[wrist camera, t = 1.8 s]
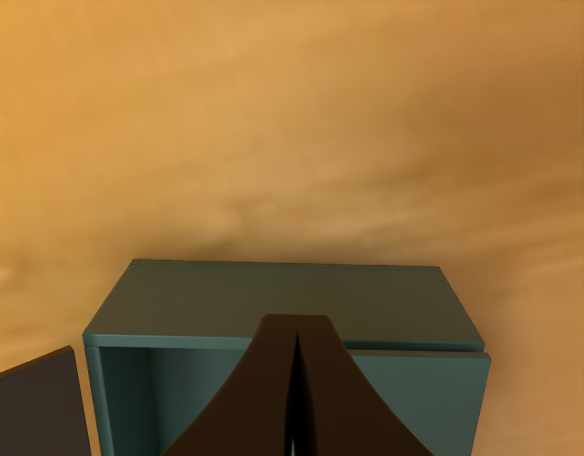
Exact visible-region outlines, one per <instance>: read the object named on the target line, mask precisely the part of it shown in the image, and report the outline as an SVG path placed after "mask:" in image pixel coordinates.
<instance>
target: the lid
mask: <svg viewBox="0 0 584 456" xmlns="http://www.w3.org/2000/svg"><path fill="white" fill-rule="evenodd" d="M0 456H92V455H91V449H90V443H89V437H88V431H87V426H86V420H85V414H84V408H83V402H82V396H81V390H80V384H79V378H78V372H77V366H76V360H75V355H74V350H73V348H72V347H71V346H70V345H68V346H66V347H63V348H61V349H58V350H56V351H53V352H51V353H48V354H46V355H43V356H41V357H38V358H36V359H33V360H31V361H28V362H26V363H23V364H21V365H18V366H16V367H13V368H11V369H8V370H6V371H3V372H1V373H0Z"/></svg>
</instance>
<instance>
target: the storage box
mask: <svg viewBox="0 0 584 456" xmlns="http://www.w3.org/2000/svg"><path fill="white" fill-rule="evenodd" d="M266 314H298V315H326V316H327V317H328V318H329V319H330V320H331V321H332V324H333V326H334V328H335V330H336V332H337V333H338V335H339V337H340V339H341V340H342V342H343V344H344V345H345V347H346V349H347V350H348V352H349V353H350V355H351V357H352V358H353V360H354V361H355V363H356V364H357V365H358V367H359V368H360V370H361V371H362V372H363V374H364V375H365V377H366V378H367V380H368V381H369V382H370V384H371V385H372V386H373V388H374V389H375V390H376V392H377V393H378V394H379V395H380V397H381V398H382V399H383V400H384V402H385V403H386V404H387V405H388V406H389V408H390V409H391V410H392V411H393V412H394V414H395V415H396V416H397V417H398V418H399V419H400V420H401V422H402V423H403V424H404V425H405V426H406V427H407V428H408V429H409V430H410V431H411V432H412V433H413V435H414V436H415V437H416V438H417V439H418V440H419V441H420V442H421V443H422V444H423V445H424V446H425V447H426V448H427V449H428V450H429V451H430V452H431V453H432V454H433V455H434V456H471V451H472V446H473V442H474V437H475V432H476V428H477V423H478V418H479V414H480V409H481V404H482V400H483V395H484V390H485V386H486V381H487V376H488V372H489V367H490V362H491V358H490V356H489V354H488V353H483V351H484V346H485V343H484V341H483V339H482V337H481V336H480V334H479V332H478V331H477V329H476V327H475V326H474V324H473V322H472V321H471V319H470V317H469V316H468V314H467V312H466V311H465V309H464V307H463V306H462V304H461V302H460V301H459V299H458V297H457V296H456V294H455V292H454V291H453V289H452V287H451V286H450V284H449V282H448V281H447V279H446V277H445V276H444V274H443V273H442V271H441V269H440V267H418V266H377V265H336V264H295V263H254V262H213V261H172V260H132V262H131V263H130V265H129V266H128V268H127V269H126V271H125V272H124V274H123V275H122V276H121V278H120V279H119V281H118V282H117V284H116V285H115V287H114V288H113V290H112V291H111V293H110V294H109V295H108V297H107V298H106V300H105V301H104V303H103V304H102V306H101V307H100V309H99V310H98V311H97V313H96V314H95V316H94V317H93V319H92V320H91V322H90V323H89V325H88V326H87V328H86V329H85V330H84V332H83V334H82V336H83V343H84V346H85V347H84V349H85V355H86V361H87V368H88V374H89V380H90V387H91V393H92V399H93V405H94V412H95V418H96V424H97V431H98V437H99V443H100V449H101V456H159V455H160V454H161V453H162V452H163V451H164V450H165V449H166V448H168V447H169V446H170V445H171V444H172V443H173V442H174V441H175V440H176V439H177V438H178V437H179V436H180V435H181V433H182V432H183V431H184V430H185V429H186V428H187V427H188V426H189V425H190V424H191V423H192V422H193V421H194V419H195V418H196V417H197V416H198V415H199V414H200V413H201V411H202V410H203V409H204V408H205V407H206V405H207V404H208V403H209V402H210V401H211V399H212V398H213V397H214V395H215V394H216V393H217V391H218V390H219V389H220V387H221V386H222V385H223V384H224V382H225V381H226V380H227V378H228V377H229V376H230V374H231V373H232V371H233V370H234V368H235V367H236V365H237V364H238V362H239V360H240V359H241V357H242V356H243V354H244V353H245V351H246V350H247V348H248V346H249V344H250V343H251V341H252V339H253V337H254V335H255V333H256V331H257V329H258V327H259V325H260V322H261V319H262V318H263V317H264V316H265V315H266ZM291 456H295V455H294V444H293V445H292V454H291Z"/></svg>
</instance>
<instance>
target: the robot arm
mask: <svg viewBox="0 0 584 456" xmlns="http://www.w3.org/2000/svg"><path fill="white" fill-rule="evenodd" d="M293 444H294V455H295V456H434V455H433V454H432V453H431V452H430V451H429V450H428V449H427V448H426V447H425V446H424V445H423V444H422V443H421V442H420V441H419V440H418V439H417V438H416V437H415V436H414V435H413V433H412V432H411V431H410V430H409V429H408V428H407V427H406V426H405V425H404V424H403V423H402V422H401V420H400V419H399V418H398V417H397V416H396V415H395V414H394V412H393V411H392V410H391V409H390V408H389V406H388V405H387V404H386V403H385V402H384V400H383V399H382V398H381V397H380V395H379V394H378V393H377V392H376V390H375V389H374V388H373V386H372V385H371V384H370V382H369V381H368V380H367V378H366V377H365V375H364V374H363V372H362V371H361V370H360V368H359V367H358V365H357V364H356V363H355V361H354V360H353V358H352V357H351V355H350V353H349V352H348V350H347V349H346V347H345V345H344V344H343V342H342V340H341V339H340V337H339V335H338V333H337V332H336V330H335V328H334V326H333V324H332V321H331V320H330V319H329V318H328V317H327V316H326V315H298V314H266V315H265V316H264V317H263V318H262V319H261V322H260V325H259V327H258V329H257V331H256V333H255V335H254V337H253V339H252V341H251V343H250V344H249V346H248V348H247V350H246V351H245V353H244V354H243V356H242V357H241V359H240V360H239V362H238V364H237V365H236V367H235V368H234V370H233V371H232V373H231V374H230V376H229V377H228V378H227V380H226V381H225V382H224V384H223V385H222V386H221V387H220V389H219V390H218V391H217V393H216V394H215V395H214V397H213V398H212V399H211V401H210V402H209V403H208V404H207V405H206V407H205V408H204V409H203V410H202V411H201V413H200V414H199V415H198V416H197V417H196V418H195V419H194V421H193V422H192V423H191V424H190V425H189V426H188V427H187V428H186V429H185V430H184V431H183V432H182V433H181V435H180V436H179V437H178V438H177V439H176V440H175V441H174V442H173V443H172V444H171V445H170V446H169V447H168V448H166V449H165V450H164V451H163V452H162V453H161V454H160V455H159V456H291V454H292V445H293Z"/></svg>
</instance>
